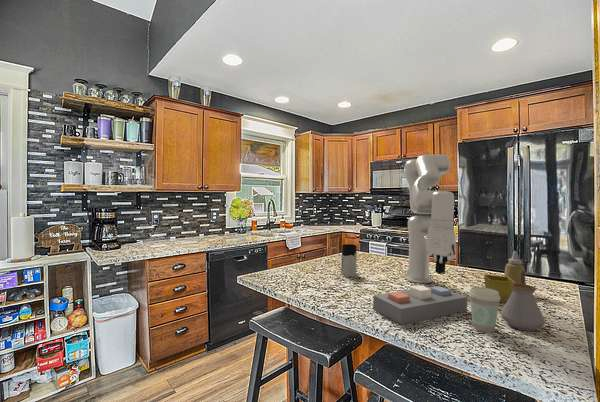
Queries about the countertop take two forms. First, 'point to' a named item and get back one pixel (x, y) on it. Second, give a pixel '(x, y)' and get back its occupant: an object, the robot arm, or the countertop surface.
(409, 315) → the console
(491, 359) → the countertop surface
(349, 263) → the glass holder
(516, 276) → the squeeze bottle
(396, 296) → the key red
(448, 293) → the key blue
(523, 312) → the coffee pot
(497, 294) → the coffee cup
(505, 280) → the flower pot
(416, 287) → the key white
